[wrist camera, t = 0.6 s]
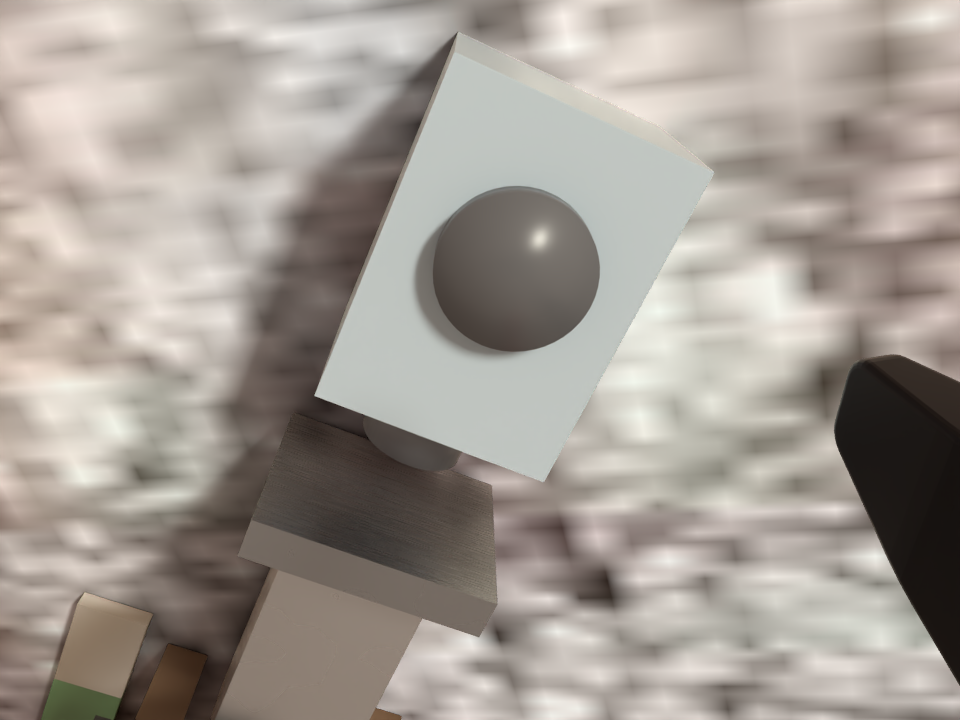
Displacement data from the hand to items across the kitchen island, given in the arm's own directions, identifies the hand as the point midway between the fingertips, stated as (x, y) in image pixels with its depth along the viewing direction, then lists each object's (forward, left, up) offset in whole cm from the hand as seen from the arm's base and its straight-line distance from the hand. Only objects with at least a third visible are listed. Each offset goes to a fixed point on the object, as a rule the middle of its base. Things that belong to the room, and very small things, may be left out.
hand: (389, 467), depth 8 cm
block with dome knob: (-2, +1, -14) cm, 14 cm away
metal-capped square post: (-1, +12, -13) cm, 18 cm away
